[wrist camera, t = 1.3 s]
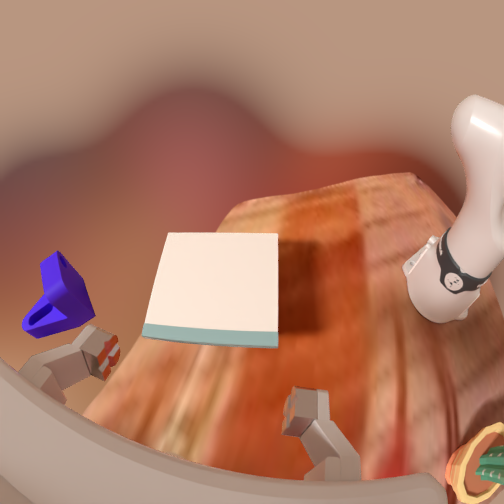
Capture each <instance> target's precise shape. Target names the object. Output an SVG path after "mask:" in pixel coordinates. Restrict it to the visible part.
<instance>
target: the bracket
mask: <svg viewBox="0 0 504 504" xmlns="http://www.w3.org/2000/svg"><path fill="white" fill-rule="evenodd" d="M40 267H41V275H42V282H43V288H44V293H45V294H44V295H43V296H42V297H41V299H40V300H39V301H38V302H37V303H36V304H35V305H34V307H33V308H32V309H31V310H30V312H29V313H28V314H27V315H26V316H25V318H24V319H23V322H22V328H23V330H24V331H26V332H27V333H29V334H30V335H32V336H34V337H35V338H37V339H39V338H42V337H46V336H49V335H52V334H56V333H60V332H63V331H67V330H70V329H73V328H77V327H80V326H81V325H83V324H84V323H86V322H87V321H89V320H90V319H92V318H94V317H95V316H96V315H95V313H94V310H93V307H92V304H91V301H90V298H89V296H88V292H87V290H86V286H85V283H84V280H83V278H82V277H81V276H80V275H79V274H78V272H77V271H76V270H75V269H74V268H73V267H72V266H71V264H69V262H68V261H67V260H66V259H65V257H64V256H63V255H62V254H61V253H60V252H59V251H56V252H55V253H53V254H52V255H51V256H49V257H48V258H47V259H45V260H44V261H42V262H41V263H40Z"/></svg>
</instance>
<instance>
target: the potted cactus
mask: <svg viewBox="0 0 504 504" xmlns="http://www.w3.org/2000/svg"><path fill="white" fill-rule="evenodd" d="M445 477H446V480H447V482H448V484H450V485H452V487H453V490H454V491H455V492H456V495H457V498H458V500H460V501H461V502H464V503H468V504H477V503H479V502H481V501H483V500H485V499H487V498H489V497H490V496H491V495H492V494H493V493H494V492H495V490H496V489H497V488H498V487H499V486H500V485H501V484H502V485H504V424H503V423H501V422H498V423H496V424H493V425H490V426H487V427H485V428H483V429H481V430H480V431H479V432H478V433H477V434H476V436H475V437H473V438H472V439H470V440H469V441H468V443H467V444H465V445H462V446H460V447H459V448H458V449H457V450H456V451H455V452H454V453H453V454H452V456H451V458H450V460H449V462H448V464H447V467H446V474H445Z"/></svg>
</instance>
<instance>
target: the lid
mask: <svg viewBox="0 0 504 504" xmlns="http://www.w3.org/2000/svg"><path fill="white" fill-rule="evenodd" d="M142 337H144V338H146V339H154V340H162V341H170V342H180V343H190V344H201V345H214V346H229V347H251V348H278V234H277V233H168V236H167V239H166V242H165V246H164V250H163V253H162V256H161V260H160V264H159V267H158V271H157V275H156V278H155V282H154V286H153V290H152V294H151V299H150V302H149V307H148V311H147V315H146V319H145V323H144V326H143V331H142Z"/></svg>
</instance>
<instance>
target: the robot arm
mask: <svg viewBox="0 0 504 504" xmlns="http://www.w3.org/2000/svg"><path fill="white" fill-rule="evenodd" d="M451 135H452V141H453V144H454V147H455V150H456V152H457V154H458V156H459V158H460V160H461V162H462V164H463V167H464V170H465V175H466V180H467V192H466V198H465V201H464V204H463V206H462V209H461V211H460V213H459V215H458V217H457V219H456V220H455V222H454V224H453V225H452V227H450V228H449V229H448V230H447V231H446V232H445V233H444V234H443V235H442V236H441V237H440V238H439V237H435V236H434V235H432V236H431V238H430V239H429V240H428V242H427V244H426V245H425V246H423V247H422V248H421V249H420V250H419V251H418V252H417V253H416V254H414V255H413V256H412V257H411V258H410V259H409V260H407V261H406V262H405V263H404V264H403V266H402V268H403V271H404V274H405V276H406V278H407V285H408V292H409V296H410V298H411V301H412V303H413V304H414V306H415V308H416V309H417V310H418V311H419V312H420V313H421V314H422V315H423V316H424V317H425V318H427V319H428V320H430V321H433V322H436V323H446V322H449V321H451V320H464V319H465V318H466V317H467V314H468V309H469V307H470V306H471V305H472V303H473V302H474V301H475V300H476V299H477V298H478V297H479V295H480V287H481V286H482V285H483V284H484V283H485V282H486V281H487V280H488V278H489V277H490V275H491V273H492V271H493V270H494V269H495V267H496V266H497V265H498V264H499V263H500V262H501V261H502V260H503V259H504V106H503V105H501V104H499V103H496V102H494V101H492V100H489V99H487V98H484V97H481V96H478V95H472V96H469V97H467V98H465V99H464V100H463V101H462V102H460V104H459V105H458V106H457V108H456V109H455V111H454V114H453V117H452V122H451ZM410 264H411V265H410ZM117 342H118V338H117V336H116V335H114V334H112V333H109V332H107V331H105V330H103V329H100V328H99V327H96V326H94V325H92V324H89V325H87V326H86V327H85V329H84V330H83V331H82V332H81V333H80V334H79V335H78V337H77V338H76V339H75V340H74V341H73V343H72V344H69V343H68V344H65V345H62V346H60V347H57V348H54V349H51V350H48V351H45V352H42V353H39V354H36V355H33V356H31V357H30V359H29V360H28V361H27V362H26V363H25V364H24V366H23V367H22V368H21V369H20V370H19V372H17V371H16V370H15V369H13V368H12V367H11V366H10V365H8V364H7V363H6V362H5V361H4V360H3V359H1V358H0V504H448V501H447V494H446V491H445V488H444V487H443V486H442V485H441V484H440V483H439V482H438V481H437V480H436V479H435V478H434V477H433V476H432V475H431V474H429V473H426V472H424V473H417V474H412V475H406V476H399V477H392V478H384V479H374V480H361V466H360V456H359V455H358V453H357V452H356V451H355V449H354V448H353V447H352V446H351V444H350V443H349V442H348V440H347V439H346V438H345V436H344V435H343V434H342V432H341V431H340V430H339V428H338V427H337V426H336V424H335V423H334V422H333V421H330V411H329V395H328V391H327V390H319V389H314V388H306V387H299V386H294V387H293V388H292V390H291V395H289V396H288V397H287V399H286V402H285V406H284V413H283V414H284V416H285V417H286V418H285V419H284V421H283V424H282V435H288V436H295V437H300V440H301V442H302V444H303V445H304V447H305V449H306V451H307V453H308V455H309V457H310V458H311V460H312V462H313V464H314V466H315V467H314V468H313V469H312V470H311V471H309V472H308V473H307V474H305V475H304V481H301V480H288V479H278V478H269V477H262V476H255V475H249V474H243V473H238V472H233V471H228V470H223V469H219V468H215V467H210V466H206V465H203V464H199V463H195V462H192V461H188V460H185V459H182V458H178V457H175V456H172V455H169V454H166V453H164V452H161V451H158V450H155V449H153V448H150V447H147V446H145V445H142V444H140V443H137V442H135V441H133V440H130V439H128V438H126V437H123V436H121V435H119V434H117V433H115V432H113V431H111V430H108V429H106V428H104V427H102V426H100V425H98V424H97V423H95V422H93V421H91V420H89V419H87V418H85V417H84V416H82V415H80V414H78V413H77V412H75V411H73V410H72V409H70V408H68V407H66V406H65V405H64V404H65V403H66V401H67V399H66V397H65V395H64V393H63V392H62V390H64V389H66V388H68V387H70V386H72V385H73V384H75V383H77V382H79V381H81V380H83V379H85V378H87V377H88V376H90V375H92V376H94V377H97V378H99V379H101V380H103V381H105V380H106V379H107V377H108V376H109V374H110V372H111V368H110V367H112V366H114V365H116V363H117V362H118V359H119V356H120V347H119V346H118V345H117Z"/></svg>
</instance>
